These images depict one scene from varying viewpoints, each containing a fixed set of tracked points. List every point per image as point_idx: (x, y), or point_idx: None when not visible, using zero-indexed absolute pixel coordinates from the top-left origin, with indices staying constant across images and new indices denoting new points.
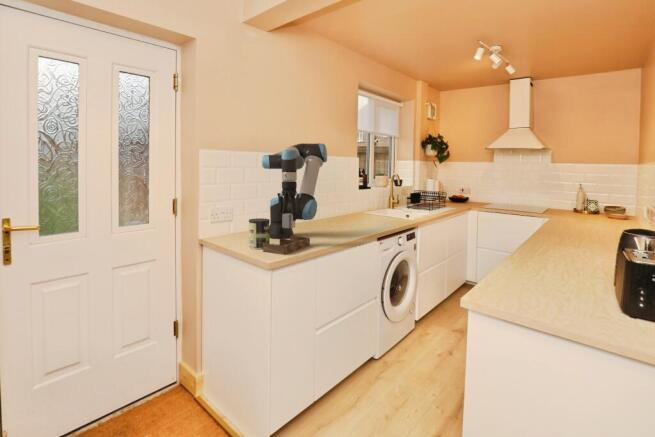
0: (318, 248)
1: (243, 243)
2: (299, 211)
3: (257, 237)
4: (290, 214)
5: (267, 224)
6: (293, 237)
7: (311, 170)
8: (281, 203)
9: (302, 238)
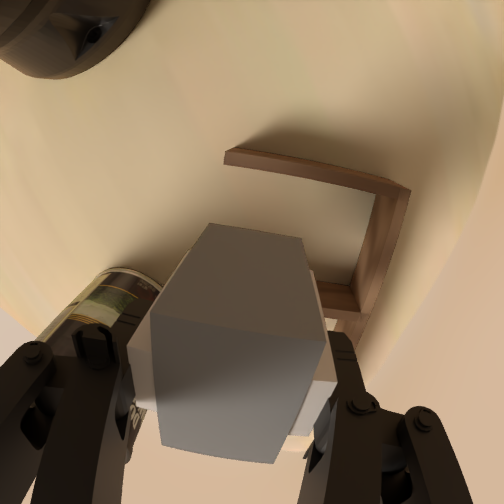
0: (447, 238)
1: (31, 265)
2: (435, 435)
3: None
4: (282, 445)
5: (136, 427)
6: (260, 168)
7: None
8: (3, 497)
9: (350, 187)
